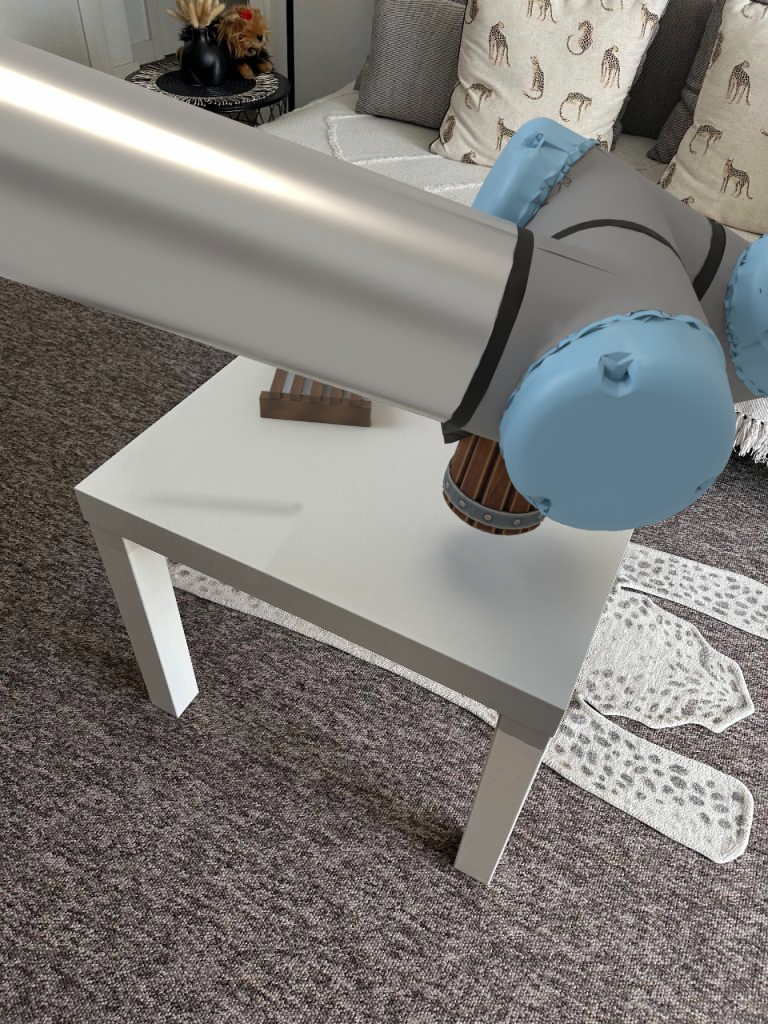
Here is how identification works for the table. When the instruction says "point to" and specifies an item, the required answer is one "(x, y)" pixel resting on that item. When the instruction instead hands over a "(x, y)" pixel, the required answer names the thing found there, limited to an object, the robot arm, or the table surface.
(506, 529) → the mug
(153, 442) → the table surface
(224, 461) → the table surface
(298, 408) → the drying rack
